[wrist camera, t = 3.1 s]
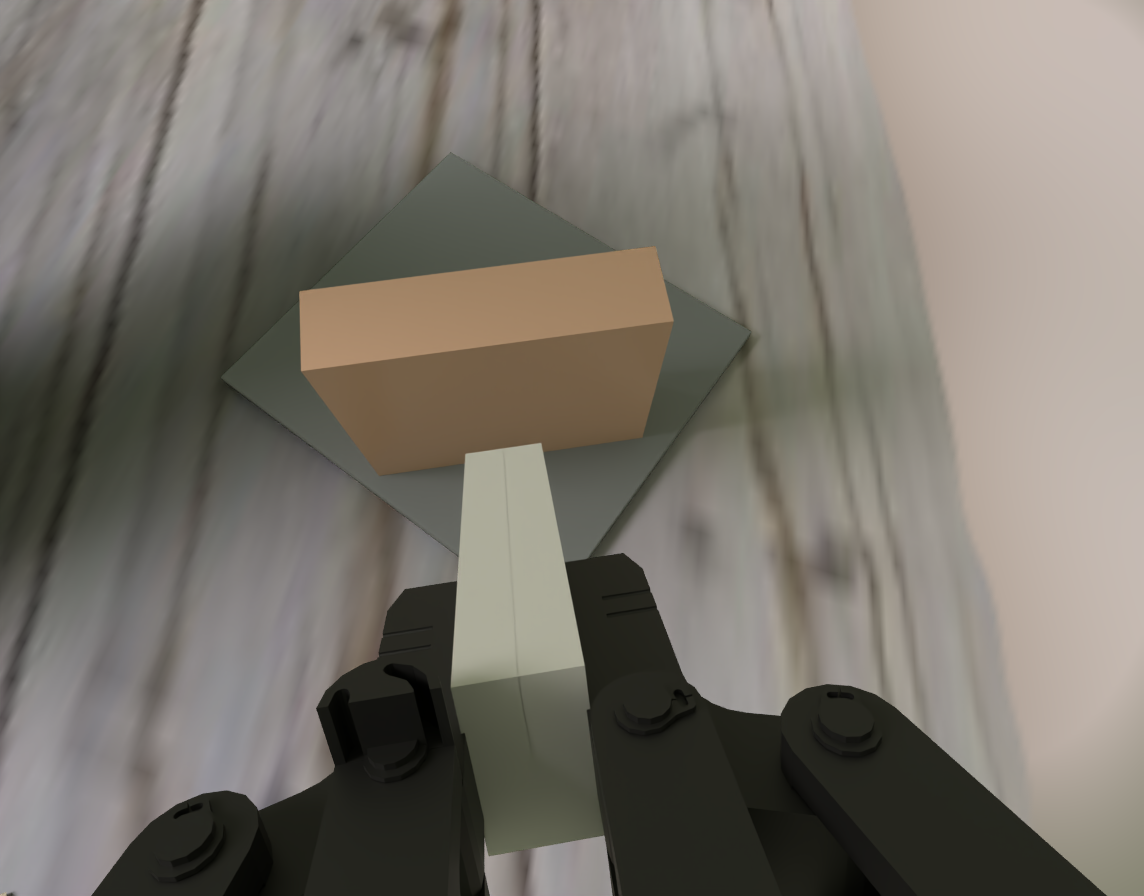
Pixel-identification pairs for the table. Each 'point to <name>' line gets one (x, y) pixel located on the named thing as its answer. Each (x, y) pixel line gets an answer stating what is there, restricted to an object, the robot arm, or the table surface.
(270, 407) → the mat
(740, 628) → the table surface
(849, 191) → the table surface
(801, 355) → the table surface
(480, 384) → the tile
